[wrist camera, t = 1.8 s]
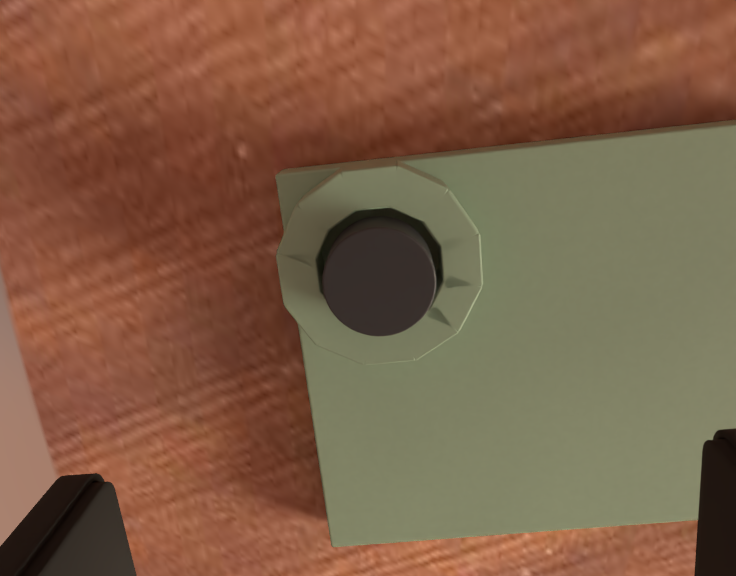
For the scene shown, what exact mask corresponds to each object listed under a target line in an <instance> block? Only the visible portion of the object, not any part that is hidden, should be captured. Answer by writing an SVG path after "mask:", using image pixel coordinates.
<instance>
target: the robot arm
mask: <svg viewBox="0 0 736 576" xmlns="http://www.w3.org/2000/svg"><path fill="white" fill-rule="evenodd" d="M0 576H136V572H135V568H134V564H133V560H132V556H131V552H130V548H129V544H128V540H127V536H126V532H125V528H124V524H123V520H122V516H121V512H120V508H119V504H118V500H117V496H116V492H115V488H114V486H113V485H112V483H110V482H104V479H103V478H102V477H101V475H99V474H97V473H95V474H81V475H67V476H61V477H60V478H58V479H57V480H56V481H55V483H54V484H53V485H52V486H51V487H50V488H49V490H48V491H47V492H46V493H45V494H44V495H43V497H42V498H41V499H40V501H38V503H37V504H36V505H35V506H34V507H33V509H32V510H31V511H30V512H29V513H28V515H27V516H26V517H25V518H24V519H23V520H22V522H21V523H20V524H19V525H18V526H17V527H16V529H15V530H14V531H13V532H12V533H11V535H10V536H9V537H8V538H7V539H6V541H5V542H4V543H3V544H2V545H1V546H0ZM695 576H736V429H722V430H718V431H717V432H716V433H715V435H714V437H713V440H707V441H705V443H704V445H703V450H702V465H701V481H700V497H699V513H698V529H697V546H696V562H695Z"/></svg>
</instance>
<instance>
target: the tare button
mask: <svg viewBox="0 0 736 576" xmlns="http://www.w3.org/2000/svg"><path fill="white" fill-rule="evenodd" d="M322 286H323V293H324V297H325V300H326V302H327V304H328V306H329V308H330V310H331V311H332V313H333V314H334V315H335V317H336V318H337V319H338V320H339V321H340V322H342V323H343V324H344V325H345V326H347V327H348V328H350V329H352V330H354V331H356V332H358V333H361V334H365V335H369V336H390V335H394V334H398V333H401V332H403V331H405V330H407V329H409V328H411V327H412V326H414V325H415V324H416V323H418V322H419V321H420V320H421V319H422V318H423V317H424V315H425V314H426V313H427V311H428V310H429V308H430V306H431V304H432V302H433V299H434V296H435V292H436V272H435V267H434V264H433V260H432V256H431V253H430V250H429V247H428V245H427V243H426V242H425V240H424V238H423V237H422V236H421V235H420V233H419V232H418V231H417V230H416V229H414V228H413V227H412V226H410V225H409V224H407V223H406V222H404V221H402V220H399V219H396V218H392V217H388V216H372V217H367V218H364V219H360V220H358V221H356V222H354V223H352V224H351V225H349V226H348V227H346V228H345V229H344V230H343V231H342V232H341V233H340V234H339V235H338V237H337V238H336V239H335V241H334V243H333V245H332V247H331V249H330V252H329V255H328V258H327V261H326V263H325V266H324V270H323V277H322Z"/></svg>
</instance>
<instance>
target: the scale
mask: <svg viewBox="0 0 736 576" xmlns="http://www.w3.org/2000/svg"><path fill="white" fill-rule="evenodd" d="M276 183H277V190H278V197H279V203H280V210H281V216H282V223H283V230H284V234H283V237H282V239H281V242H280V244H279V247H278V249H277V254H276V260H277V267H278V273H279V279H280V286H281V292H282V299H283V304H284V306H285V308H286V309H287V310H288V312H289V313H290V314H291V315H292V317H293V318H294V319H295V320H296V322H297V323H298V329H299V335H300V342H301V349H302V355H303V362H304V368H305V375H306V382H307V388H308V395H309V401H310V408H311V415H312V421H313V428H314V435H315V441H316V448H317V454H318V461H319V468H320V474H321V481H322V487H323V494H324V501H325V507H326V514H327V520H328V527H329V534H330V540H331V545H332V547H341V546H355V545H368V544H381V543H395V542H408V541H421V540H435V539H448V538H462V537H475V536H488V535H502V534H515V533H529V532H542V531H555V530H569V529H582V528H596V527H609V526H622V525H636V524H649V523H663V522H676V521H689V520H698V513H699V497H700V481H701V465H702V450H703V445H704V443H705V441H707V440H713V437H714V435H715V433H716V432H717V431H718V430H722V429H736V120H727V121H718V122H709V123H700V124H691V125H682V126H672V127H663V128H654V129H645V130H636V131H627V132H618V133H609V134H599V135H590V136H581V137H572V138H563V139H554V140H545V141H536V142H526V143H517V144H508V145H499V146H490V147H481V148H472V149H463V150H453V151H444V152H435V153H426V154H417V155H408V156H399V157H390V158H380V159H371V160H362V161H353V162H344V163H335V164H326V165H317V166H307V167H298V168H289V169H283V170H281V171H280V172H279V173H278V174H276ZM372 216H388V217H392V218H396V219H399V220H402V221H404V222H406V223H407V224H409V225H410V226H412V227H413V228H414V229H416V230H417V231H418V232H419V233H420V235H421V236H422V237H423V238H424V240H425V242H426V243H427V245H428V247H429V250H430V253H431V256H432V260H433V264H434V267H435V272H436V292H435V296H434V299H433V302H432V304H431V306H430V308H429V310H428V311H427V313H426V314H425V315H424V317H423V318H422V319H421V320H420V321H419V322H418V323H416V324H415V325H414V326H412V327H411V328H409V329H407V330H405V331H403V332H401V333H398V334H394V335H390V336H369V335H365V334H361V333H358V332H356V331H354V330H352V329H350V328H348V327H347V326H345V325H344V324H343V323H342V322H340V321H339V320H338V319H337V318H336V317H335V315H334V314H333V313H332V311H331V310H330V308H329V306H328V304H327V302H326V300H325V297H324V293H323V286H322V277H323V270H324V266H325V263H326V261H327V258H328V255H329V252H330V249H331V247H332V245H333V243H334V241H335V239H336V238H337V237H338V235H339V234H340V233H341V232H342V231H343V230H344V229H345V228H346V227H348V226H349V225H351V224H352V223H354V222H356V221H358V220H360V219H364V218H367V217H372Z"/></svg>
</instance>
